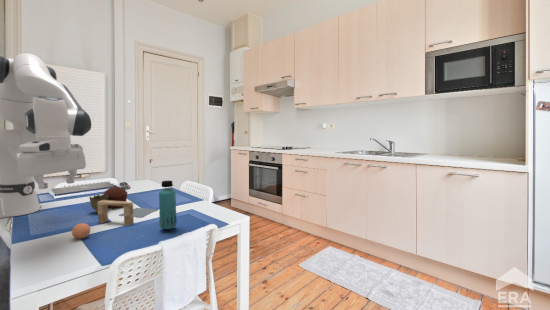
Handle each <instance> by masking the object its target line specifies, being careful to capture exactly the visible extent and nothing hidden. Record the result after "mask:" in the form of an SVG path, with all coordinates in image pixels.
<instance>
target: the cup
mask: <svg viewBox="0 0 550 310" xmlns="http://www.w3.org/2000/svg"><path fill="white" fill-rule="evenodd" d="M101 200H108V196H107V195H104V196H103V194H101V195H100V194H97V195H95V194H94V195H93V197H92V196H90V197H89V202H90V206H91V208H92V209H93V211H94V210H95V211H94V213H96V214H98V203H97V202H98V201H101Z"/></svg>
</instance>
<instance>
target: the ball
mask: <svg viewBox="0 0 550 310" xmlns="http://www.w3.org/2000/svg"><path fill="white" fill-rule="evenodd" d="M90 233H91V227H90V225H89V224H87V223H85V222H84V223H83V222H82V223H77V224H75V225H74V226H73V228H72V230H71V235H72V237H73V238H75V239H79V240H80V239H81V240H82V239H84V238H86V237H88V236H89V235H90Z"/></svg>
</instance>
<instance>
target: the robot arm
mask: <svg viewBox="0 0 550 310" xmlns="http://www.w3.org/2000/svg"><path fill="white" fill-rule="evenodd" d="M0 117H1V118H2V119H3V120H4V121H7V122H9V123H11V124H12V129H0V219H1V218H9V217H18V216H24V215H29V214H32V213H36V212H38V211H40V210H41V209H40V208H42V204H40V202H39V197H38V193H37V191H35V189H36V183H37V184H38V189H39V190H45V189H48V188H49V186H48V182H45V181H44V180H43V179H44V177H45V176H46V175H51V174H57V173H64V172H67V173H68V174H69V175H68V178H65V180H66V184H73V183H74V184H75V178H76V176H77V173H78V170H84V169H85V168H86V166H87V162H86V158H85V157H86V156H85V153H84V151H83V150H84V148H83V147H82V145H80V144H79V143H72V141H71V136H74V137H83V136H85V135H87V133H89V132H90V131H91V129H92V119H91V117H90V115H89V114H88V113H87V112H86V110H84V109H83V108H82V106H81V105H80V104H79V102H78V101H77V99H76V98H75V97H74V95H73V93H72V92H71V91H70V90H69V89H68V87H67V86H66V85H64V84H63V83H61V82H59V81H58V76H57V72H56V71H55V69H54V68H52V67H50V66H48V65H46V64H45V61H43V60H42V59H41V57H39V56H37V55H35V54H32V53H27V52H26V53H25V52H24V53H19V54H17V55H16V56H14V58H9V57H5V56H0ZM17 154H19V155H17ZM35 182H36V183H35Z"/></svg>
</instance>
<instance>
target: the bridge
mask: <svg viewBox="0 0 550 310" xmlns="http://www.w3.org/2000/svg"><path fill="white" fill-rule="evenodd" d="M97 203H98V213H97V219H98V220H97V222H98V223H99V224H104V223H106V222H108V221H109V211H108V210H109V209H108V207H107V205H112V206H124V207H123V213H124V216H123V222H124V226H130V225H132V224H134V223H135V222H134V221H135V219H134V217H133V209H134V201H127V200H126V201H112V200H101V201H98V202H97Z"/></svg>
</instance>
